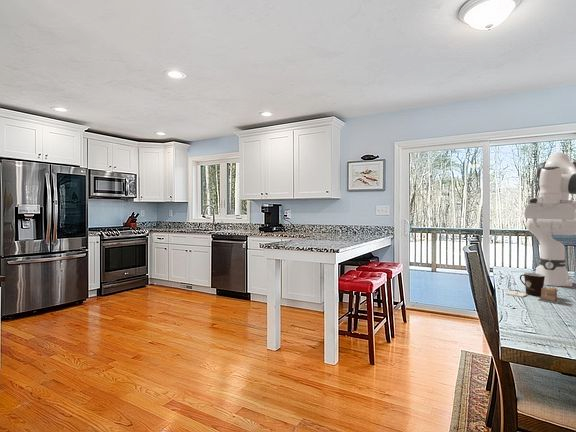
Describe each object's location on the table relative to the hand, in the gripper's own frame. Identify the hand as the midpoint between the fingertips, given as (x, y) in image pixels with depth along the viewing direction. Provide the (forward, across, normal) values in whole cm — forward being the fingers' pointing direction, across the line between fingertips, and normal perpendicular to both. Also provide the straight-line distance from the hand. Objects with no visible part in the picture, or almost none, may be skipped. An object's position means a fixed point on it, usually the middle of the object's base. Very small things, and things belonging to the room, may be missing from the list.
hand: (548, 228), depth 173 cm
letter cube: (+32, -3, +9) cm, 34 cm away
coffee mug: (+33, +6, 0) cm, 34 cm away
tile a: (+33, -3, +9) cm, 34 cm away
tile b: (+33, +10, +8) cm, 36 cm away
